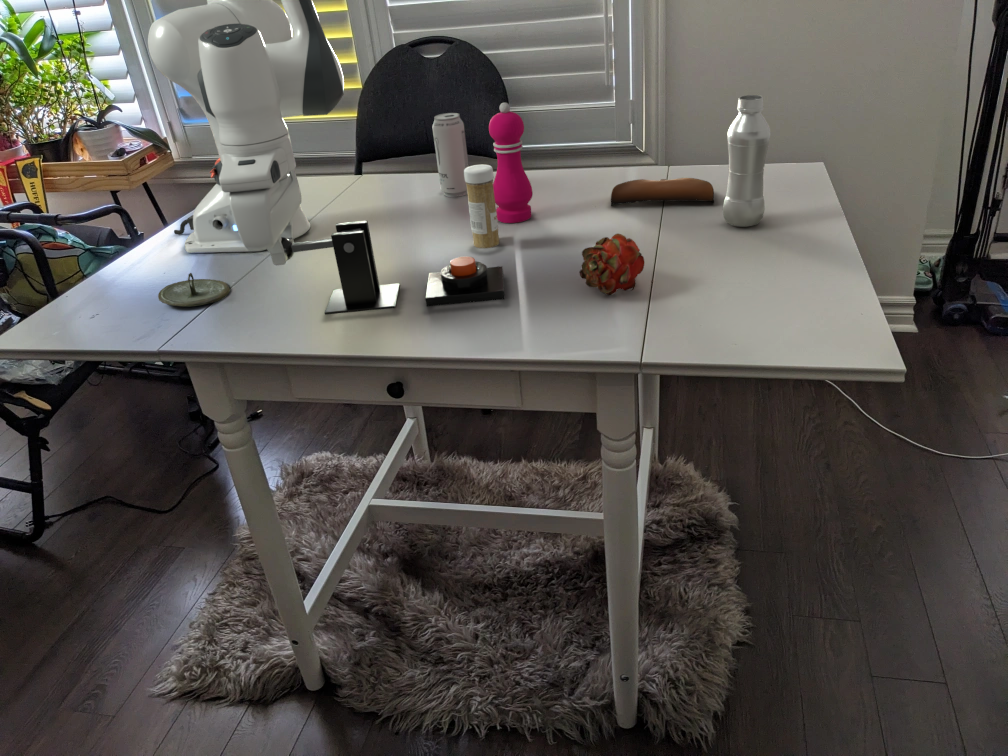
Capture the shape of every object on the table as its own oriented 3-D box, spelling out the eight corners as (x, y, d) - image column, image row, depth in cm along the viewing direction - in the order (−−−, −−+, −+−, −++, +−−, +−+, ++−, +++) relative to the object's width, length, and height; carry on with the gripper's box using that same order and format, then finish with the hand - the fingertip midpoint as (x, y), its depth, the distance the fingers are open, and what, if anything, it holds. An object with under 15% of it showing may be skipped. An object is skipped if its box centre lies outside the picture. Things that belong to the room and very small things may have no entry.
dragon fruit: (594, 318, 110) (618, 293, 120) (644, 286, 105) (665, 264, 116) (559, 266, 109) (586, 246, 119) (608, 232, 105) (632, 214, 115)
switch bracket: (326, 320, 114) (308, 241, 108) (335, 296, 121) (318, 221, 115) (396, 313, 113) (382, 234, 107) (401, 290, 120) (388, 214, 114)
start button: (451, 278, 113) (449, 267, 112) (451, 268, 116) (450, 257, 115) (476, 276, 113) (475, 264, 112) (476, 266, 116) (475, 255, 115)
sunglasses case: (713, 188, 146) (715, 162, 140) (713, 218, 143) (715, 193, 137) (614, 191, 150) (611, 166, 144) (611, 220, 147) (609, 196, 141)
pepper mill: (542, 216, 143) (534, 101, 133) (509, 227, 140) (498, 109, 130) (519, 208, 148) (509, 96, 138) (486, 218, 145) (474, 104, 135)
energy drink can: (439, 191, 162) (428, 115, 154) (468, 186, 163) (459, 110, 155) (444, 199, 157) (433, 121, 149) (474, 194, 158) (465, 116, 150)
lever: (270, 266, 112) (263, 243, 110) (275, 257, 115) (269, 235, 113) (362, 254, 111) (357, 231, 110) (365, 245, 114) (360, 223, 113)
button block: (427, 312, 113) (423, 286, 111) (431, 286, 121) (427, 261, 119) (505, 305, 113) (502, 278, 111) (503, 279, 120) (501, 254, 118)
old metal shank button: (156, 313, 125) (140, 288, 122) (206, 276, 130) (191, 251, 126) (194, 331, 119) (177, 305, 116) (244, 292, 124) (230, 266, 120)
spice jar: (506, 248, 131) (498, 166, 125) (482, 255, 129) (473, 173, 123) (491, 241, 135) (482, 161, 128) (467, 248, 133) (458, 168, 126)
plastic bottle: (748, 214, 134) (756, 90, 124) (772, 226, 129) (782, 97, 119) (714, 221, 133) (719, 97, 123) (736, 234, 127) (744, 104, 117)
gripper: (255, 142, 115) (278, 233, 122) (214, 183, 97) (244, 288, 104) (299, 137, 115) (319, 229, 122) (265, 178, 97) (292, 283, 104)
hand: (284, 257), depth 113 cm, fingers closed on lever, 3 cm apart
